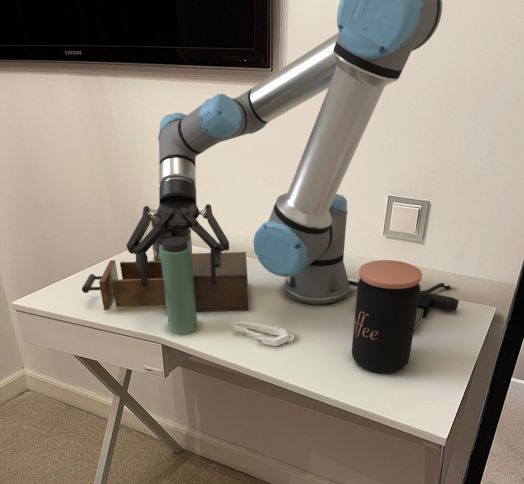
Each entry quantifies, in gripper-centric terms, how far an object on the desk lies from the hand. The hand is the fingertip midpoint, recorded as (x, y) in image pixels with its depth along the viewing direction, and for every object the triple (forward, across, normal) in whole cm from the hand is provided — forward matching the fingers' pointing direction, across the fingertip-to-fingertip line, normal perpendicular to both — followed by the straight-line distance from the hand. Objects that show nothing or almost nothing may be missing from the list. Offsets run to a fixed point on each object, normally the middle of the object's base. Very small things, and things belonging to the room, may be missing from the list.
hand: (179, 283), depth 106 cm
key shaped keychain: (+10, -16, -6) cm, 20 cm away
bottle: (+6, 0, -9) cm, 11 cm away
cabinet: (-4, -5, -19) cm, 20 cm away
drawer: (-4, +12, -18) cm, 23 cm away
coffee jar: (+18, -38, +2) cm, 42 cm away
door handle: (+4, -48, -12) cm, 49 cm away
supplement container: (-20, +6, -36) cm, 42 cm away
